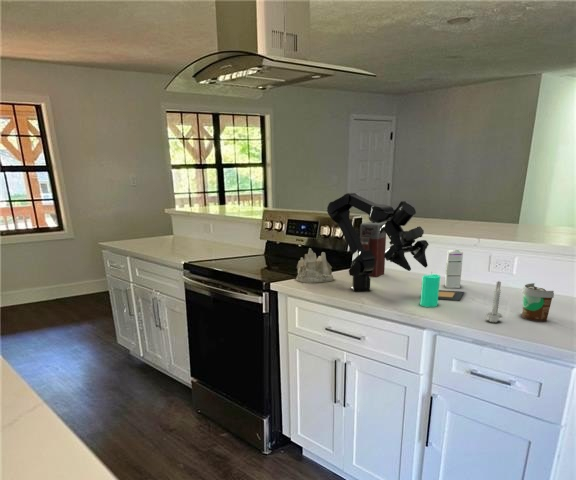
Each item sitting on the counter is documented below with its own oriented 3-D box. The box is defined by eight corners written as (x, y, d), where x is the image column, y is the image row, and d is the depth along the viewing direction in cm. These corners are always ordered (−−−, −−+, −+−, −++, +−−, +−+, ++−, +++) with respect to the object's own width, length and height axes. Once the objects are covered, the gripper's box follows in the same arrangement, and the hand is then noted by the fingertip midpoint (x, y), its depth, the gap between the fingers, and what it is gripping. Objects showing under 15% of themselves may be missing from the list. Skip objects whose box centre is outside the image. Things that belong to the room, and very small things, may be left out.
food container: (511, 313, 170) (515, 283, 166) (528, 312, 170) (533, 282, 166) (530, 323, 158) (535, 292, 154) (549, 322, 159) (554, 291, 155)
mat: (421, 298, 192) (421, 296, 192) (427, 290, 204) (428, 289, 204) (459, 300, 187) (459, 299, 187) (464, 292, 198) (464, 291, 198)
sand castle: (336, 281, 224) (334, 246, 219) (299, 284, 222) (297, 249, 217) (328, 276, 239) (326, 244, 234) (294, 280, 237) (291, 247, 232)
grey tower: (460, 288, 206) (464, 251, 200) (445, 288, 207) (448, 251, 201) (458, 285, 211) (462, 249, 205) (444, 285, 212) (447, 249, 206)
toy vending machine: (356, 276, 234) (358, 212, 223) (367, 272, 242) (369, 210, 231) (374, 278, 229) (376, 213, 218) (384, 273, 237) (387, 211, 226)
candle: (438, 303, 184) (441, 270, 180) (436, 307, 179) (439, 273, 175) (421, 302, 186) (423, 269, 182) (419, 306, 181) (422, 272, 176)
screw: (482, 321, 162) (490, 318, 165) (496, 324, 158) (504, 321, 161) (487, 281, 157) (495, 278, 160) (502, 283, 153) (510, 280, 156)
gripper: (392, 221, 175) (415, 257, 171) (426, 217, 185) (449, 250, 181) (374, 242, 183) (396, 277, 180) (408, 237, 194) (429, 270, 190)
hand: (418, 268), depth 182 cm, fingers open, 9 cm apart
